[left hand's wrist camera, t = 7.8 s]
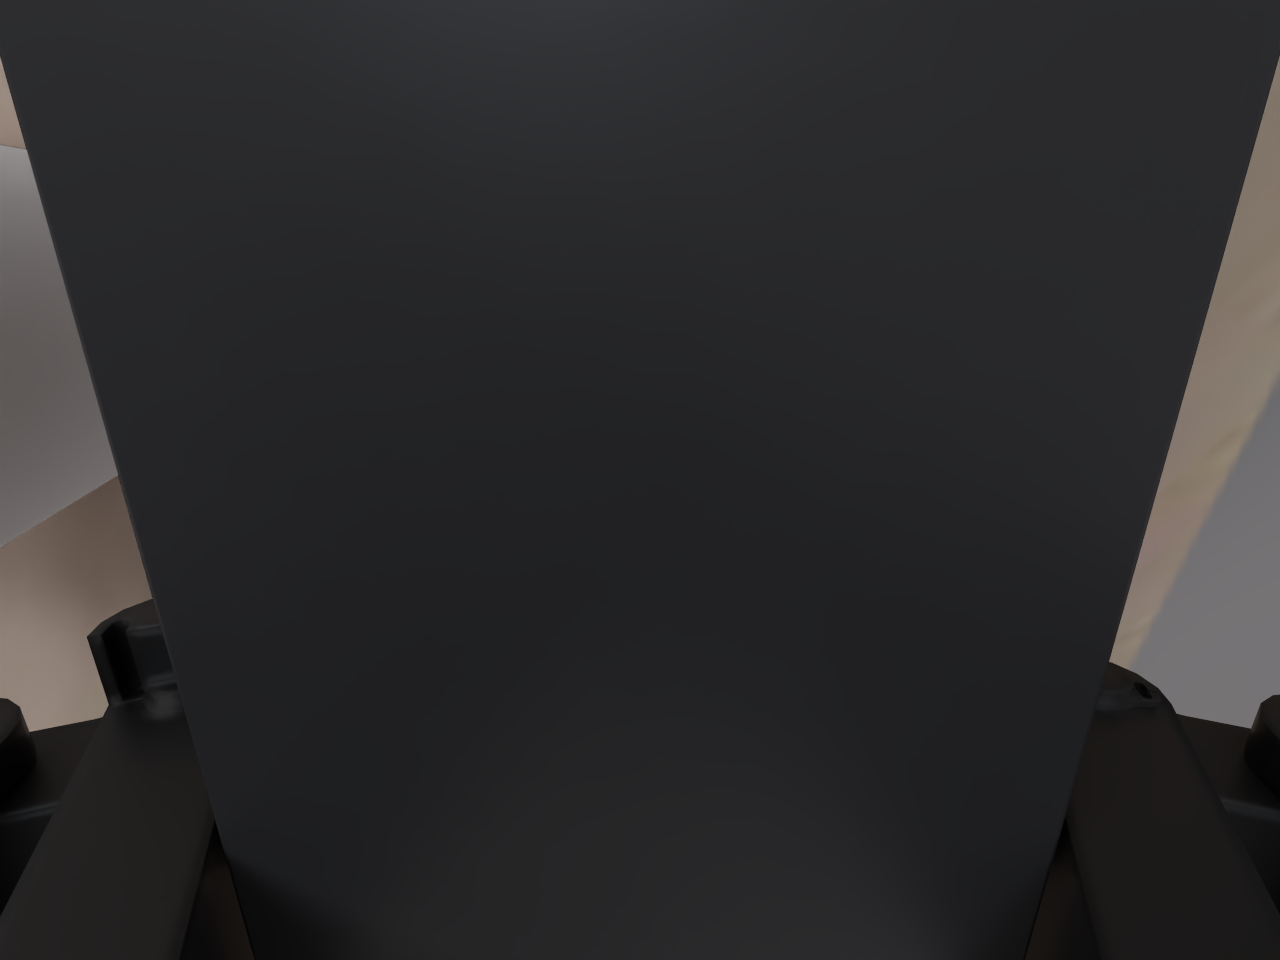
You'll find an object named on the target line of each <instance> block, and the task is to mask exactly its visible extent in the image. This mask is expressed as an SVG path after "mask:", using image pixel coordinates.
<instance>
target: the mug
mask: <svg viewBox="0 0 1280 960" xmlns="http://www.w3.org/2000/svg"><path fill="white" fill-rule="evenodd" d="M116 476H118V473H117V469H116V466H115V462H114V459H113V455H112V452H111V448H110V445H109V441H108V437H107V434H106V430H105V427H104V423H103V420H102V416H101V413H100V409H99V405H98V402H97V398H96V395H95V391H94V388H93V384H92V381H91V377H90V373H89V370H88V366H87V363H86V359H85V356H84V352H83V349H82V345H81V341H80V338H79V334H78V331H77V327H76V324H75V320H74V317H73V313H72V309H71V306H70V302H69V299H68V295H67V292H66V288H65V285H64V281H63V277H62V274H61V270H60V267H59V263H58V260H57V256H56V253H55V249H54V245H53V242H52V238H51V235H50V231H49V228H48V224H47V221H46V217H45V213H44V210H43V206H42V203H41V199H40V196H39V192H38V189H37V185H36V181H35V178H34V174H33V171H32V167H31V164H30V160H29V157H28V153H27V149H23V148H18V147H12V146H6V145H1V144H0V548H1V547H2V546H4V545H5V544H7V543H9V542H10V541H12V540H14V539H15V538H17V537H18V536H20V535H22V534H23V533H25V532H27V531H28V530H30V529H31V528H33V527H35V526H36V525H38V524H40V523H41V522H43V521H44V520H46V519H48V518H49V517H51V516H53V515H54V514H56V513H57V512H59V511H61V510H62V509H64V508H66V507H67V506H69V505H71V504H72V503H74V502H75V501H77V500H79V499H80V498H82V497H84V496H85V495H87V494H88V493H90V492H92V491H93V490H95V489H97V488H98V487H100V486H101V485H103V484H105V483H106V482H108V481H110V480H111V479H113V478H114V477H116Z"/></svg>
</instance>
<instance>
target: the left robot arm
mask: <svg viewBox="0 0 1280 960" xmlns="http://www.w3.org/2000/svg"><path fill="white" fill-rule="evenodd" d="M87 639H88V642H89V645H90V648H91V651H92V654H93V657H94V660H95V663H96V667H97V670H98V673H99V676H100V679H101V682H102V685H103V688H104V691H105V694H106V697H107V700H108V703H109V706H108V708H107V710H106V712H105V714H104V716H103V717H102V718H98V719H94V720H89V721H84V722H79V723H73V724H68V725H63V726H58V727H53V728H48V729H43V730H38V731H33V732H29V730H28V727H27V725H26V722H25V719H24V717H23V714H22V712H21V709H20V707H19V706H18V705H16V704H15V703H13V702H12V701H10V700H9V699H4V698H0V960H254V956H253V953H252V949H251V946H250V942H249V939H248V935H247V932H246V928H245V924H244V921H243V917H242V914H241V910H240V907H239V903H238V900H237V896H236V892H235V889H234V885H233V882H232V878H231V875H230V871H229V868H228V864H227V860H226V857H225V853H224V850H223V846H222V843H221V839H220V836H219V832H218V828H217V825H216V821H215V818H214V814H213V811H212V807H211V804H210V800H209V796H208V793H207V789H206V786H205V782H204V779H203V775H202V772H201V768H200V764H199V761H198V757H197V754H196V750H195V747H194V743H193V740H192V736H191V732H190V729H189V725H188V722H187V718H186V715H185V711H184V708H183V704H182V700H181V697H180V693H179V690H178V686H177V683H176V679H175V676H174V672H173V668H172V665H171V661H170V658H169V654H168V651H167V647H166V644H165V640H164V636H163V633H162V629H161V626H160V622H159V619H158V615H157V612H156V608H155V604H154V601H153V599H151V600H148V601H145V602H143V603H140V604H137V605H135V606H132V607H129V608H127V609H124V610H122V611H120V612H119V613H117V614H115V615H113V616H112V617H110V618H108V619H107V620H105V621H103V622H101V623H100V624H99V625H98V626H97V627H96V628H95V629H94V630H93V631H92V632H91V633H90V634H89V635H88V636H87ZM1025 960H1280V695H1273V696H1271V697H1270V698H1268V699H1267V700H1265V701H1264V702H1262V703H1261V704H1260V707H1259V710H1258V712H1257V715H1256V717H1255V720H1254V723H1253V725H1252V728H1251V729H1250V728H1244V727H1239V726H1234V725H1229V724H1224V723H1219V722H1213V721H1209V720H1203V719H1198V718H1193V717H1188V716H1184V715H1180V714H1176V712H1175V710H1174V708H1173V706H1172V704H1171V703H1170V702H1169V701H1168V699H1167V698H1166V697H1165V696H1164V695H1163V693H1162V692H1161V691H1160V690H1159V689H1158V688H1157V687H1156V686H1154V685H1153V684H1151V683H1150V682H1148V681H1147V680H1145V679H1144V678H1142V677H1141V676H1140V675H1138V674H1136V673H1134V672H1132V671H1129V670H1127V669H1125V668H1123V667H1120V666H1118V665H1116V664H1113V663H1111V662H1109V663H1108V666H1107V670H1106V673H1105V677H1104V681H1103V684H1102V688H1101V691H1100V695H1099V698H1098V702H1097V705H1096V709H1095V713H1094V716H1093V720H1092V723H1091V727H1090V730H1089V734H1088V737H1087V741H1086V744H1085V748H1084V752H1083V755H1082V759H1081V762H1080V766H1079V769H1078V773H1077V776H1076V780H1075V783H1074V787H1073V791H1072V794H1071V798H1070V801H1069V805H1068V808H1067V812H1066V815H1065V819H1064V823H1063V826H1062V830H1061V833H1060V837H1059V840H1058V844H1057V847H1056V851H1055V854H1054V858H1053V862H1052V865H1051V869H1050V872H1049V876H1048V879H1047V883H1046V886H1045V890H1044V894H1043V897H1042V901H1041V904H1040V908H1039V911H1038V915H1037V918H1036V922H1035V925H1034V929H1033V933H1032V936H1031V940H1030V943H1029V947H1028V950H1027V954H1026V957H1025Z"/></svg>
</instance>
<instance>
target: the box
mask: <svg viewBox="0 0 1280 960" xmlns="http://www.w3.org/2000/svg"><path fill="white" fill-rule="evenodd" d="M1279 56H1280V0H0V57H1V61H2V64H3V68H4V71H5V75H6V78H7V82H8V85H9V89H10V93H11V96H12V100H13V103H14V107H15V110H16V114H17V117H18V121H19V125H20V128H21V132H22V135H23V139H24V142H25V146H26V149H27V153H28V157H29V160H30V164H31V167H32V171H33V174H34V178H35V181H36V185H37V189H38V192H39V196H40V199H41V203H42V206H43V210H44V213H45V217H46V221H47V224H48V228H49V231H50V235H51V238H52V242H53V245H54V249H55V253H56V256H57V260H58V263H59V267H60V270H61V274H62V277H63V281H64V285H65V288H66V292H67V295H68V299H69V302H70V306H71V309H72V313H73V317H74V320H75V324H76V327H77V331H78V334H79V338H80V341H81V345H82V349H83V352H84V356H85V359H86V363H87V366H88V370H89V373H90V377H91V381H92V384H93V388H94V391H95V395H96V398H97V402H98V405H99V409H100V413H101V416H102V420H103V423H104V427H105V430H106V434H107V437H108V441H109V445H110V448H111V452H112V455H113V459H114V462H115V466H116V469H117V473H118V476H119V480H120V484H121V487H122V491H123V494H124V498H125V501H126V505H127V508H128V512H129V516H130V519H131V523H132V526H133V530H134V533H135V537H136V540H137V544H138V548H139V551H140V555H141V558H142V562H143V565H144V569H145V572H146V576H147V580H148V583H149V587H150V590H151V594H152V597H153V601H154V604H155V608H156V612H157V615H158V619H159V622H160V626H161V629H162V633H163V636H164V640H165V644H166V647H167V651H168V654H169V658H170V661H171V665H172V668H173V672H174V676H175V679H176V683H177V686H178V690H179V693H180V697H181V700H182V704H183V708H184V711H185V715H186V718H187V722H188V725H189V729H190V732H191V736H192V740H193V743H194V747H195V750H196V754H197V757H198V761H199V764H200V768H201V772H202V775H203V779H204V782H205V786H206V789H207V793H208V796H209V800H210V804H211V807H212V811H213V814H214V818H215V821H216V825H217V828H218V832H219V836H220V839H221V843H222V846H223V850H224V853H225V857H226V860H227V864H228V868H229V871H230V875H231V878H232V882H233V885H234V889H235V892H236V896H237V900H238V903H239V907H240V910H241V914H242V917H243V921H244V924H245V928H246V932H247V935H248V939H249V942H250V946H251V949H252V953H253V956H254V960H1025V957H1026V954H1027V950H1028V947H1029V943H1030V940H1031V936H1032V933H1033V929H1034V925H1035V922H1036V918H1037V915H1038V911H1039V908H1040V904H1041V901H1042V897H1043V894H1044V890H1045V886H1046V883H1047V879H1048V876H1049V872H1050V869H1051V865H1052V862H1053V858H1054V854H1055V851H1056V847H1057V844H1058V840H1059V837H1060V833H1061V830H1062V826H1063V823H1064V819H1065V815H1066V812H1067V808H1068V805H1069V801H1070V798H1071V794H1072V791H1073V787H1074V783H1075V780H1076V776H1077V773H1078V769H1079V766H1080V762H1081V759H1082V755H1083V752H1084V748H1085V744H1086V741H1087V737H1088V734H1089V730H1090V727H1091V723H1092V720H1093V716H1094V713H1095V709H1096V705H1097V702H1098V698H1099V695H1100V691H1101V688H1102V684H1103V681H1104V677H1105V673H1106V670H1107V666H1108V663H1109V659H1110V656H1111V652H1112V649H1113V645H1114V642H1115V638H1116V634H1117V631H1118V627H1119V624H1120V620H1121V617H1122V613H1123V610H1124V606H1125V602H1126V599H1127V595H1128V592H1129V588H1130V585H1131V581H1132V578H1133V574H1134V571H1135V567H1136V563H1137V560H1138V556H1139V553H1140V549H1141V546H1142V542H1143V539H1144V535H1145V531H1146V528H1147V524H1148V521H1149V517H1150V514H1151V510H1152V507H1153V503H1154V500H1155V496H1156V492H1157V489H1158V485H1159V482H1160V478H1161V475H1162V471H1163V468H1164V464H1165V461H1166V457H1167V453H1168V450H1169V446H1170V443H1171V439H1172V436H1173V432H1174V429H1175V425H1176V421H1177V418H1178V414H1179V411H1180V407H1181V404H1182V400H1183V397H1184V393H1185V390H1186V386H1187V382H1188V379H1189V375H1190V372H1191V368H1192V365H1193V361H1194V358H1195V354H1196V350H1197V347H1198V343H1199V340H1200V336H1201V333H1202V329H1203V326H1204V322H1205V319H1206V315H1207V311H1208V308H1209V304H1210V301H1211V297H1212V294H1213V290H1214V287H1215V283H1216V279H1217V276H1218V272H1219V269H1220V265H1221V262H1222V258H1223V255H1224V251H1225V248H1226V244H1227V240H1228V237H1229V233H1230V230H1231V226H1232V223H1233V219H1234V216H1235V212H1236V209H1237V205H1238V201H1239V198H1240V194H1241V191H1242V187H1243V184H1244V180H1245V177H1246V173H1247V169H1248V166H1249V162H1250V159H1251V155H1252V152H1253V148H1254V145H1255V141H1256V138H1257V134H1258V130H1259V127H1260V123H1261V120H1262V116H1263V113H1264V109H1265V106H1266V102H1267V98H1268V95H1269V91H1270V88H1271V84H1272V81H1273V77H1274V74H1275V70H1276V67H1277V63H1278V59H1279Z"/></svg>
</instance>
